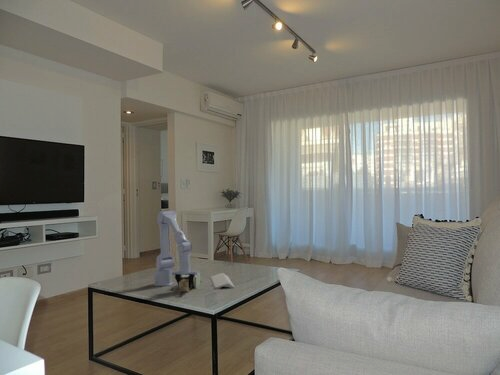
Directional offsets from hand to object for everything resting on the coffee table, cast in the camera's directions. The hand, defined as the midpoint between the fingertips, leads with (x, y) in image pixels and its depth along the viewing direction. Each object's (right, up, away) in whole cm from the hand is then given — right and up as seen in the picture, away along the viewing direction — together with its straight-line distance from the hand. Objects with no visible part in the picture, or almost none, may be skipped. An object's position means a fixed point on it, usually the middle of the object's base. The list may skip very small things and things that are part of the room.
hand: (184, 288), depth 196 cm
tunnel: (+1, -2, +10) cm, 11 cm away
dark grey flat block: (+2, -2, +19) cm, 20 cm away
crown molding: (+19, -3, +19) cm, 27 cm away
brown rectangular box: (0, -2, +3) cm, 4 cm away
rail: (0, -2, +2) cm, 3 cm away
